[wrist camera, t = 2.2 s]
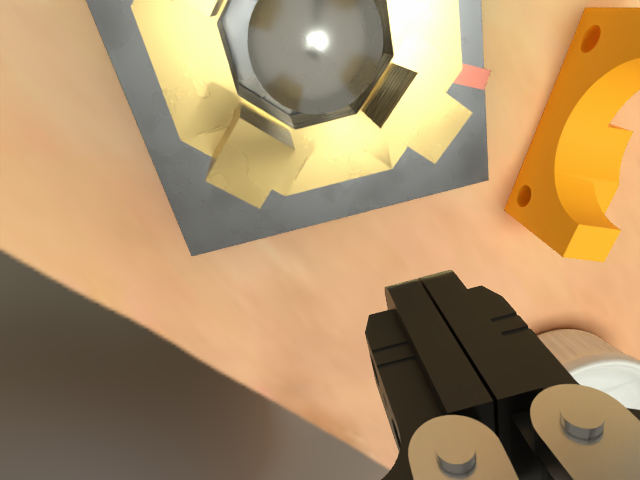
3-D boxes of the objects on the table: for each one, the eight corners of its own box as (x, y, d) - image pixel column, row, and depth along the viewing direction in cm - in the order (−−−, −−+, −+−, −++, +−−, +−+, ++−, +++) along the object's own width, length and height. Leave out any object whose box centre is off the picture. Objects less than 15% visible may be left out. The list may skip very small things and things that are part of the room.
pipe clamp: (560, 217, 31) (630, 265, 25) (503, 209, 30) (562, 257, 24) (649, 24, 25) (763, 29, 20) (583, 7, 25) (683, 7, 19)
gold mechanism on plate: (25, -176, 18) (-105, -280, 12) (459, -281, 19) (573, -440, 12) (194, 244, 28) (176, 318, 21) (481, 170, 28) (552, 221, 21)
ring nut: (110, -96, 18) (40, -146, 12) (418, -171, 19) (496, -256, 13) (213, 193, 25) (200, 253, 19) (444, 134, 25) (506, 175, 19)
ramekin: (550, 293, 33) (598, 339, 29) (638, 347, 37) (693, 395, 33) (453, 394, 37) (482, 450, 32) (543, 434, 41) (581, 489, 36)
